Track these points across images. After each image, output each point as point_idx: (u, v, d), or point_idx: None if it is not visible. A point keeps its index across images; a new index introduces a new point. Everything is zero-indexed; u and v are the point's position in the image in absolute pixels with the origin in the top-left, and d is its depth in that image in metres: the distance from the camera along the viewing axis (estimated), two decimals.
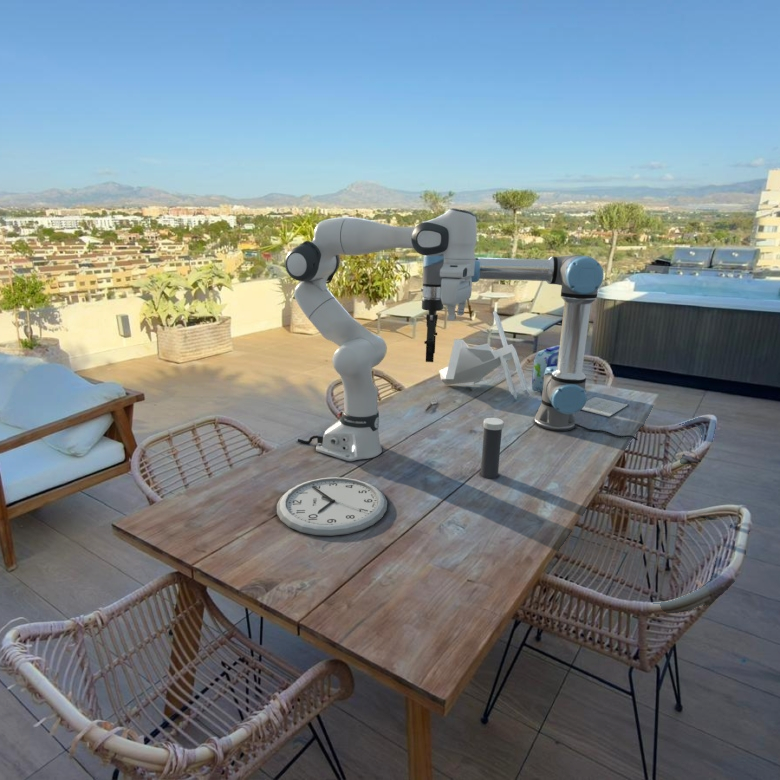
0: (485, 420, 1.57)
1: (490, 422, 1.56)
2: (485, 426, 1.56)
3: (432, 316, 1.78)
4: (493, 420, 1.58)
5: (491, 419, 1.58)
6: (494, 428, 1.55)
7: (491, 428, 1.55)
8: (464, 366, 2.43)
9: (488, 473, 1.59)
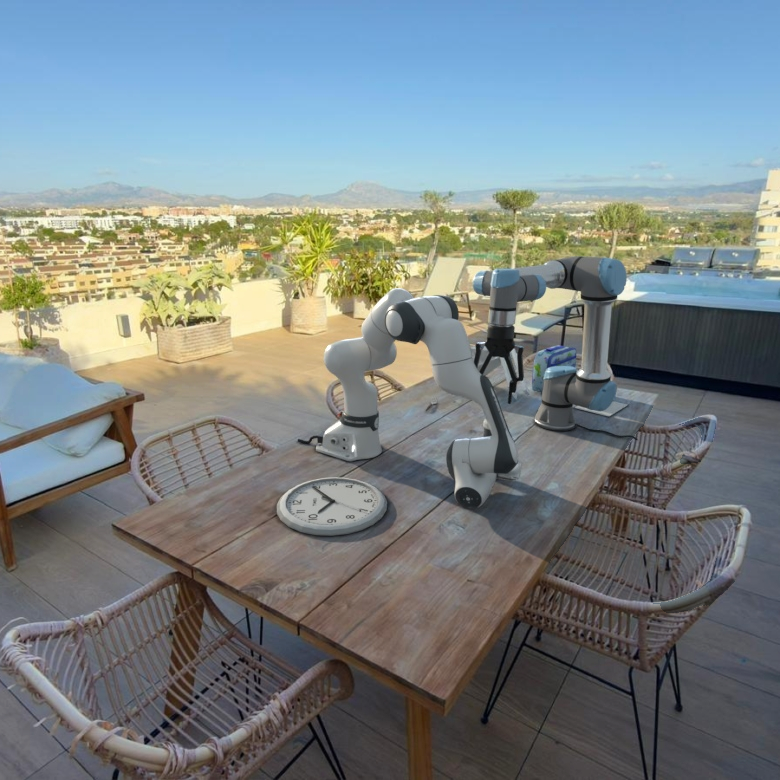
0: (485, 420, 1.57)
1: None
2: (485, 426, 1.56)
3: None
4: None
5: None
6: None
7: None
8: None
9: None
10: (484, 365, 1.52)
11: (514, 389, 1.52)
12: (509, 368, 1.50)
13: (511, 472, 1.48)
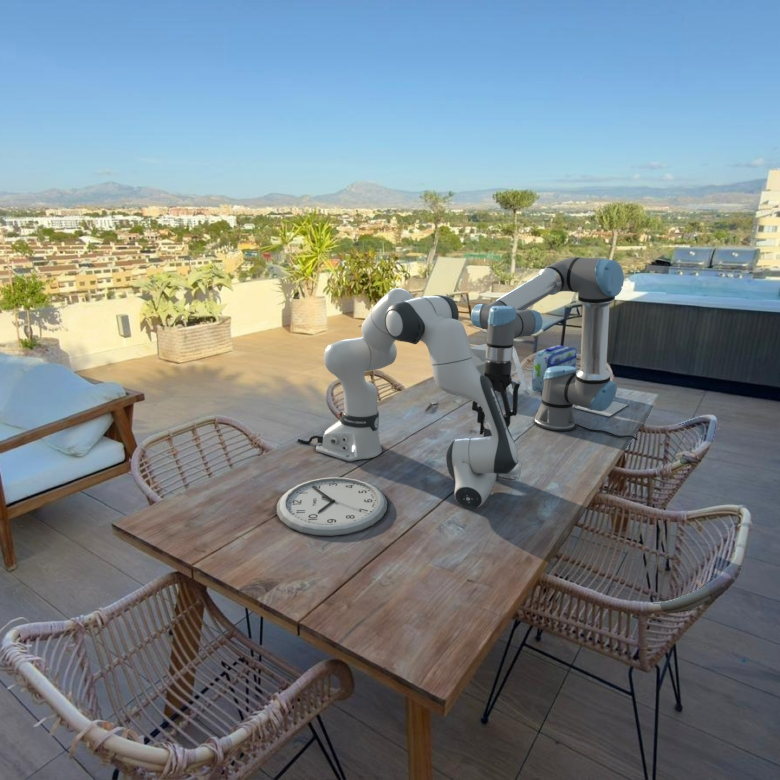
0: (485, 420, 1.57)
1: None
2: (485, 426, 1.56)
3: None
4: None
5: None
6: None
7: None
8: None
9: None
10: None
11: (508, 423, 1.55)
12: (504, 403, 1.53)
13: (511, 472, 1.47)
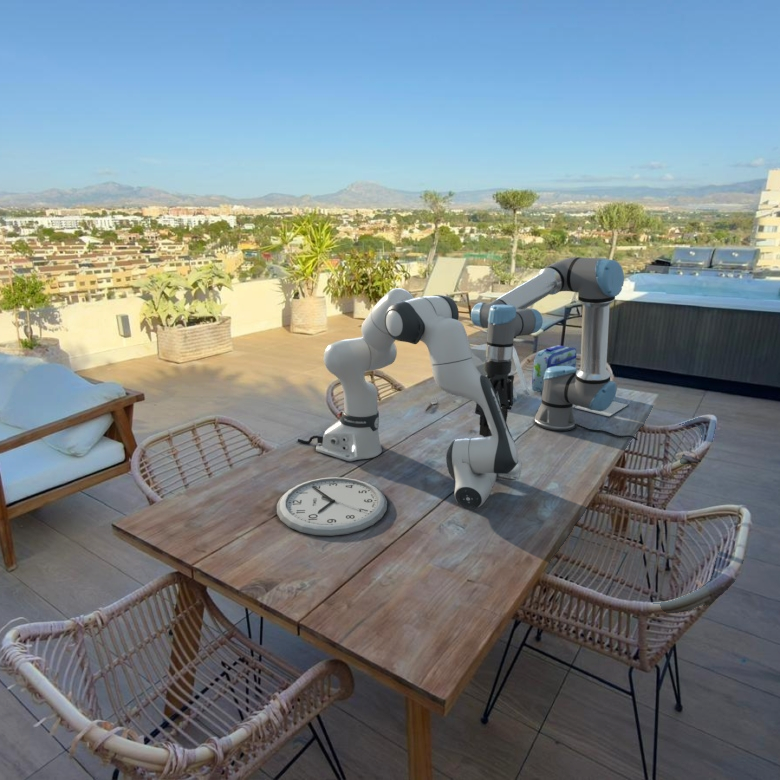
0: None
1: None
2: None
3: None
4: None
5: None
6: None
7: None
8: None
9: None
10: None
11: (506, 415, 1.60)
12: (505, 397, 1.56)
13: (511, 472, 1.47)
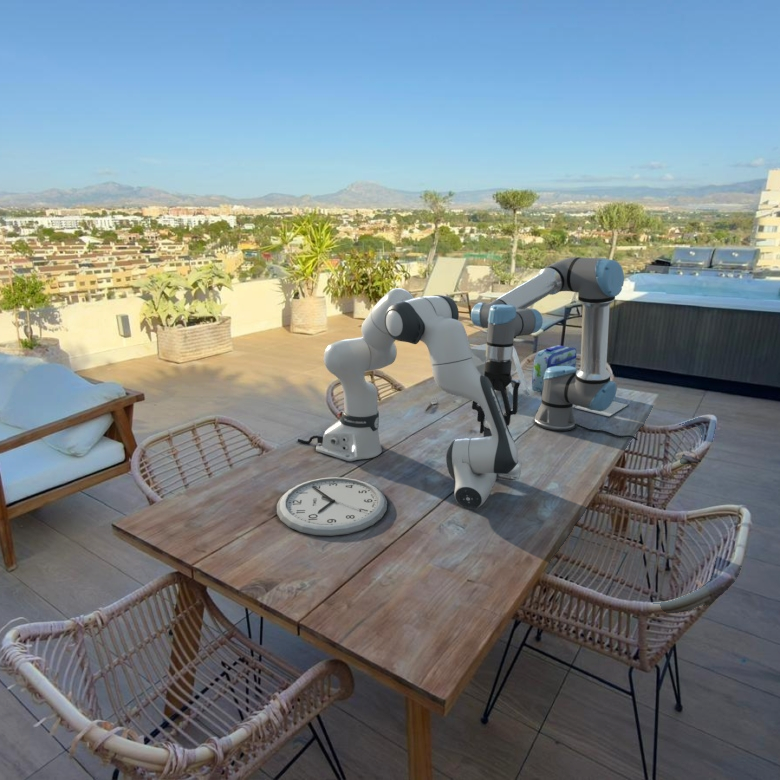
0: None
1: None
2: None
3: None
4: None
5: None
6: None
7: None
8: None
9: None
10: None
11: (508, 422, 1.55)
12: (504, 402, 1.53)
13: (511, 472, 1.47)
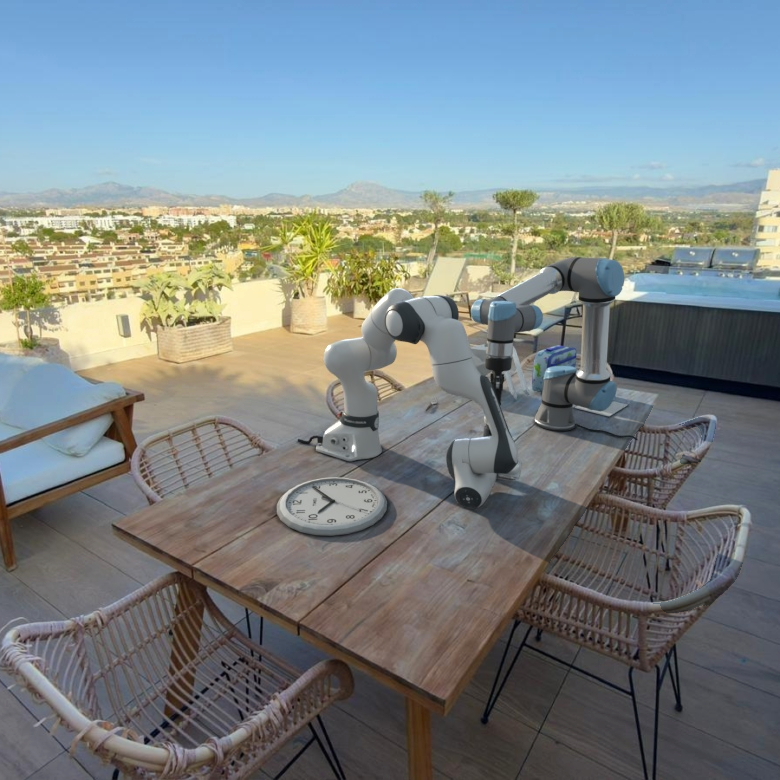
0: None
1: None
2: None
3: (499, 384, 1.47)
4: None
5: None
6: None
7: None
8: None
9: None
10: None
11: None
12: None
13: (511, 472, 1.47)
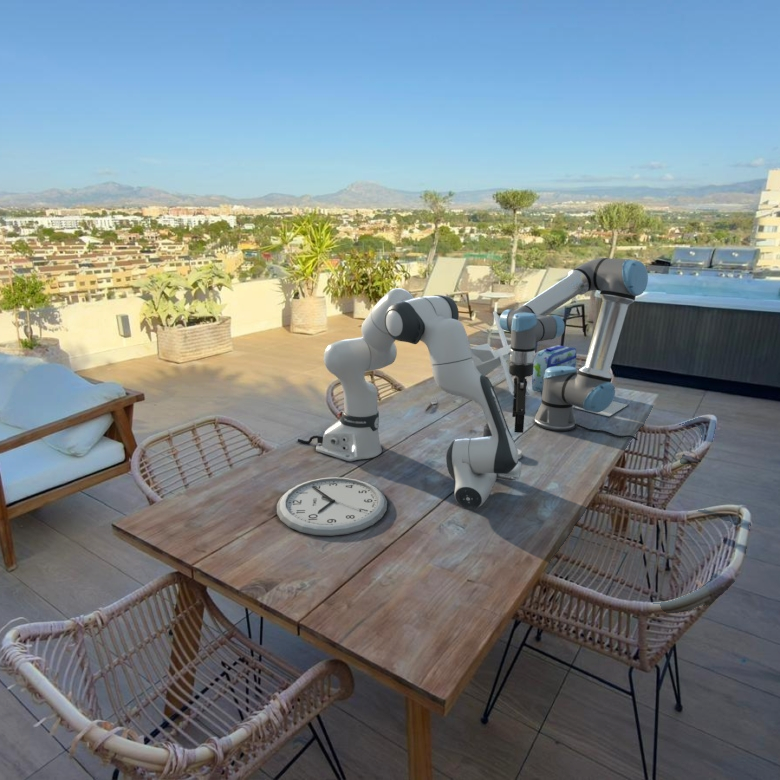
0: (519, 450, 1.76)
1: None
2: None
3: (523, 384, 1.61)
4: None
5: None
6: None
7: None
8: None
9: None
10: None
11: None
12: None
13: (511, 472, 1.47)
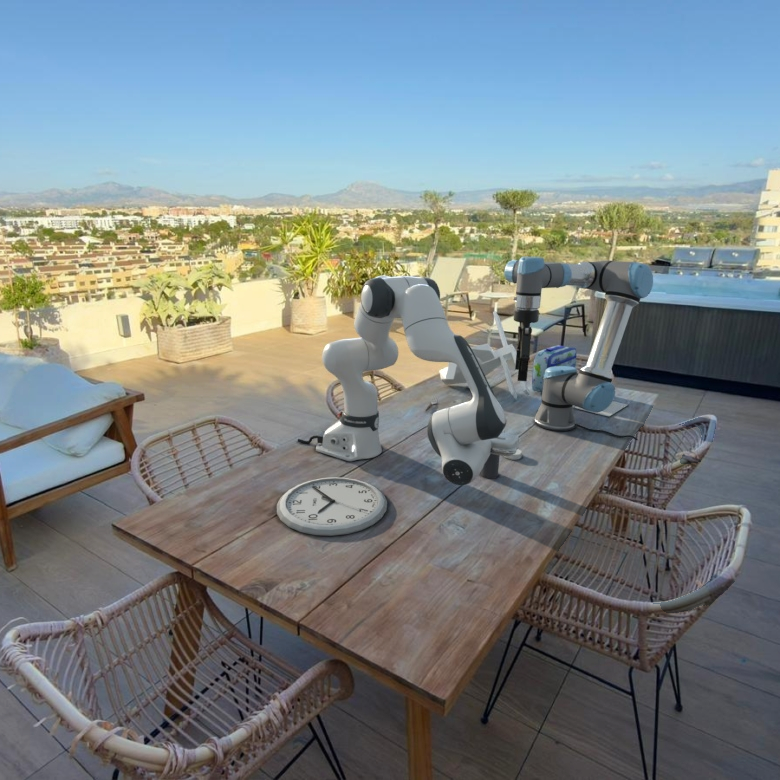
0: (519, 450, 1.76)
1: None
2: None
3: (528, 329, 1.56)
4: None
5: None
6: None
7: None
8: None
9: (488, 473, 1.59)
10: None
11: None
12: None
13: (507, 446, 1.32)
